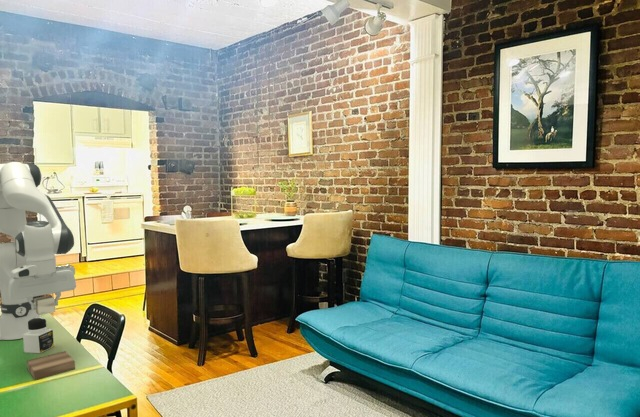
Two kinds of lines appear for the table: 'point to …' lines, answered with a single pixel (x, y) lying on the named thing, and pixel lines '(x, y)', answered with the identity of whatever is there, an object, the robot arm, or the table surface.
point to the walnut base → (50, 365)
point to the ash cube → (45, 305)
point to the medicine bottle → (38, 336)
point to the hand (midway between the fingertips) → (45, 307)
